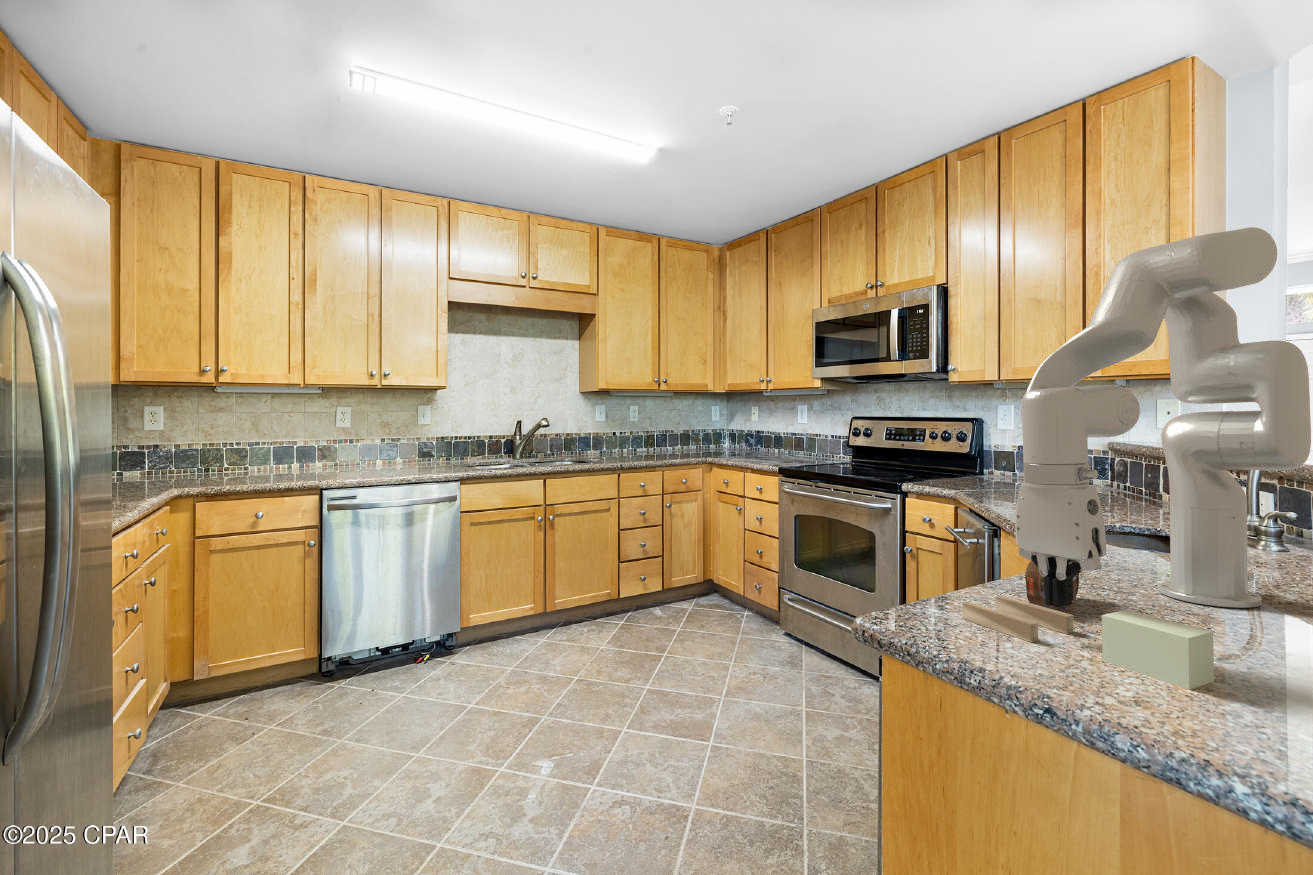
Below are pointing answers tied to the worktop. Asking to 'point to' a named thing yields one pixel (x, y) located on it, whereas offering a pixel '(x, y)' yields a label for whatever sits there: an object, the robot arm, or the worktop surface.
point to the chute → (1018, 618)
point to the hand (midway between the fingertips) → (1059, 604)
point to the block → (1158, 648)
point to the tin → (1041, 586)
